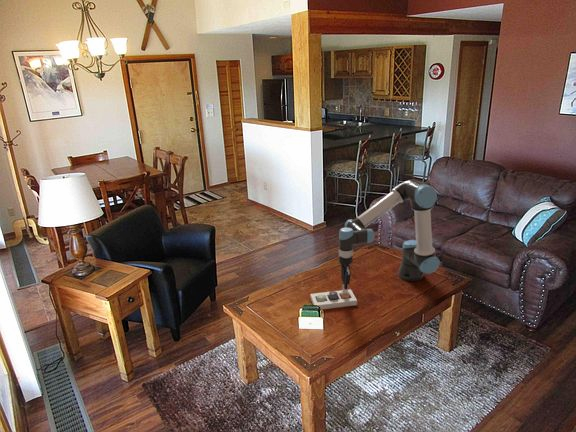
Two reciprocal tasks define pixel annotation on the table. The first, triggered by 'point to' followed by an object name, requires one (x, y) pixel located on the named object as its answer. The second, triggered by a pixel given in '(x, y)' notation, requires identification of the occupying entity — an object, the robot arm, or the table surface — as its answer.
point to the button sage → (321, 298)
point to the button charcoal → (333, 295)
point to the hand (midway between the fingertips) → (345, 292)
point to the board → (334, 303)
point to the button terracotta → (345, 295)
